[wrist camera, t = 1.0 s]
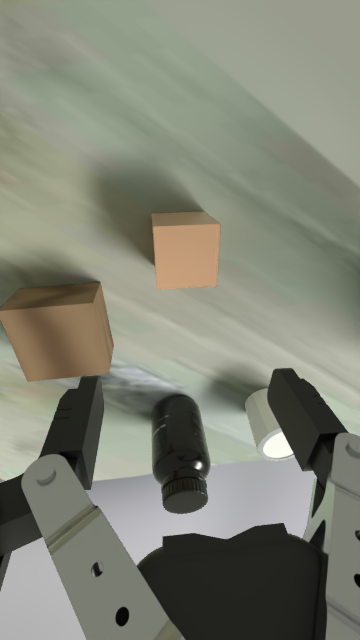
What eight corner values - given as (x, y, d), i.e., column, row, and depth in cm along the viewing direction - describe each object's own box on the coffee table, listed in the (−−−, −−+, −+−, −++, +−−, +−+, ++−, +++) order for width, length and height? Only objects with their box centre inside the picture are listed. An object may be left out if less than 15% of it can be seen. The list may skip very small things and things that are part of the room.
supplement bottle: (149, 395, 36) (152, 488, 26) (200, 391, 37) (221, 480, 27) (151, 429, 40) (154, 523, 29) (197, 425, 40) (215, 515, 30)
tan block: (204, 211, 25) (220, 223, 20) (203, 263, 28) (216, 285, 23) (151, 213, 25) (153, 226, 20) (154, 265, 27) (157, 289, 22)
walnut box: (100, 281, 28) (92, 302, 23) (113, 344, 32) (109, 373, 27) (20, 287, 27) (-4, 311, 23) (43, 351, 31) (27, 381, 27)
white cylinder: (231, 405, 39) (247, 449, 33) (269, 377, 37) (293, 418, 31) (258, 424, 42) (277, 468, 36) (295, 399, 40) (321, 441, 34)
